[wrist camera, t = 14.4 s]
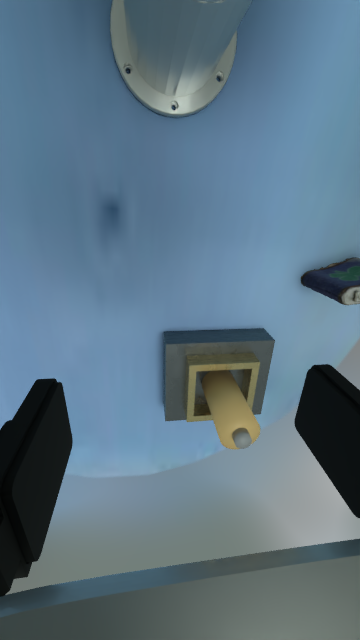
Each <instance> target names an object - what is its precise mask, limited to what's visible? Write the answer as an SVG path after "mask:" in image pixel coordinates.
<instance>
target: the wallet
mask: <svg viewBox="0 0 360 640" xmlns="http://www.w3.org/2000/svg"><path fill="white" fill-rule="evenodd" d="M301 283H302V285H303V286H306V287H308V288H311V289H312V290H314V291H316V292H319V293H321V294H323V295H325V296H327V297H329V298H331V299H334V300H336V301H338V302H339V303H341V304H344V305H352V304H360V259H359V258H350V259H346V261H343V262H340V263H339V262H338V263H333V264H330V265H329V266H328V267H326V268H323V267H322V268H321V269H319V270H315V269H314V270H311V271H307V272H306V273H305V274H304V275H303V276H302V277H301Z"/></svg>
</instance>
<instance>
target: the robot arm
mask: <svg viewBox="0 0 360 640" xmlns="http://www.w3.org/2000/svg"><path fill="white" fill-rule="evenodd" d="M252 1H253V0H112V6H111V12H110V33H111V41H112V48H113V52H114V56H115V60H116V63H117V66H118V69H119V71H120V74H121V76H122V78H123V79H124V81H125V83H126V85H127V87H128V88H129V89H130V91H131V92H132V93H133V95H134V96H135V97H136V98H137V99H138V100H139V101H140V102H141V103H142V104H143V105H144V106H146V107H147V108H149V109H151V110H152V111H154V112H156V113H158V114H161V115H164V116H168V117H186V116H189V115H192V114H195V113H197V112H199V111H201V110H202V109H204V108H205V107H207V106H208V105H209V104H210V103H211V102H212V101H213V100H214V99H215V98H216V96H217V95H218V94H219V92H220V91H221V90H222V88H223V86H224V85H225V83H226V81H227V79H228V77H229V74H230V71H231V69H232V66H233V62H234V58H235V53H236V44H237V28H238V26H239V25H240V23H241V21H242V19H243V17H244V15H245V14H246V12H247V10H248V8H249V6H250V4H251V2H252ZM127 69H129V70H130V71H131V73H130V74H127V73H126V70H127ZM216 78H219V79H220V82H218V81H217V80H216ZM172 106H175V107H176V110H172V108H171V107H172ZM295 427H296V429H297V431H298V432H299V434H300V436H301V437H302V438H303V440H304V441H305V443H306V444H307V446H308V447H309V449H310V450H311V452H312V453H313V455H314V456H315V458H316V459H317V461H318V462H319V464H320V465H321V467H322V468H323V470H324V471H325V473H326V474H327V475H328V477H329V479H330V480H331V481H332V483H333V484H334V486H335V487H336V489H337V490H338V492H339V493H340V495H341V496H342V498H343V499H344V501H345V502H346V504H347V505H348V507H349V508H350V510H351V511H352V512H353V514H354V515H355V516H356V517H358V518H360V390H359V389H357V388H356V387H355V386H354V385H353V384H352V383H350V382H349V381H348V380H347V379H346V378H345V377H344V376H342V375H341V374H340V373H339V372H338V371H337V370H336V369H334V368H333V367H332V366H331V365H328V364H325V365H314V366H312V367H311V369H309V370H308V372H307V375H306V379H305V383H304V387H303V390H302V394H301V398H300V402H299V406H298V410H297V413H296V417H295ZM71 449H72V434H71V428H70V423H69V418H68V412H67V407H66V401H65V396H64V391H63V386H62V383H61V382H57V381H56V379H38V380H36V381H35V383H34V385H33V386H32V388H31V390H30V391H29V393H28V395H27V396H26V398H25V399H24V401H23V403H22V404H21V406H20V408H19V409H18V411H17V413H16V414H15V416H14V418H13V419H12V420H9V421H7V422H6V423H5V424H4V425H3V426H2V428H1V430H0V640H360V539H354V540H348V541H340V542H333V543H325V544H318V545H312V546H304V547H297V548H290V549H283V550H276V551H269V552H262V553H255V554H248V555H241V556H235V557H228V558H221V559H214V560H207V561H201V562H194V563H187V564H181V565H174V566H167V567H160V568H154V569H147V570H140V571H134V572H127V573H120V574H115V575H108V576H102V577H96V578H90V579H84V580H79V581H72V582H67V583H61V584H55V585H49V586H44V587H39V588H35V589H30V590H26V591H21V592H17V593H13V594H8V595H5V594H6V593H7V592H9V591H10V588H11V585H12V582H13V579H16V578H23V577H28V574H29V571H30V567H31V564H32V562H34V561H38V559H39V557H40V554H41V552H42V548H43V544H44V541H45V538H46V534H47V531H48V528H49V524H50V521H51V517H52V514H53V511H54V507H55V504H56V500H57V497H58V493H59V490H60V486H61V483H62V480H63V476H64V473H65V469H66V466H67V463H68V459H69V456H70V452H71Z"/></svg>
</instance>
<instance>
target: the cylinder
mask: <svg viewBox="0 0 360 640" xmlns="http://www.w3.org/2000/svg"><path fill="white" fill-rule="evenodd" d="M202 388H203V391H204V394H205V397H206V400H207V403H208V406H209V409H210V412H211V415H212V418H213V421H214V424H215V427H216V430H217V433H218V436H219V439H220V442H221V443H222V445H223V446H225V447H226V448H229V449H244V448H247V447H248V446H250V445H251V444H252V443H253V442H255V441H256V439H257V438H258V436H259V434H260V426H259V424H258V422H257V420H256V418H255V416H254V414H253V413H252V411H251V409H250V407H249V405H248V403H247V401H246V400H245V398H244V396H243V394H242V392H241V390H240V388H239V387H238V385H237V383H236V381H235V379H234V377H233V375H232V374H231V373H230V372H229V371H228V370H216V371H210V372H208V373H207V374H206V375H205V376H204V378H203V380H202Z"/></svg>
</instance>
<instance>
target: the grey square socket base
mask: <svg viewBox="0 0 360 640" xmlns="http://www.w3.org/2000/svg"><path fill="white" fill-rule="evenodd" d="M274 343H275V340H274V339H273V338H272V337H271V336H270V335H269V334H268V333H267V331H266V330H265V329H233V330H202V331H170V332H164V412H165V421H174V420H186V421H187V422H194V421H207V420H213V418H212V415H211V412H210V409H209V406H208V403H207V400H206V397H205V394H204V391H203V388H202V380H203V378H204V376H205V375H206V374H207V373H208V372H210V371H216V370H228V371H229V372H230V373H231V374H232V375H233V377H234V379H235V381H236V383H237V385H238V387H239V388H240V390H241V392H242V394H243V396H244V398H245V400H246V401H247V403H248V405H249V407H250V409H251V411H252V413H253V414H254V415H255V414H261V410H262V404H263V399H264V394H265V389H266V384H267V379H268V373H269V368H270V363H271V358H272V353H273V348H274Z"/></svg>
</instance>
